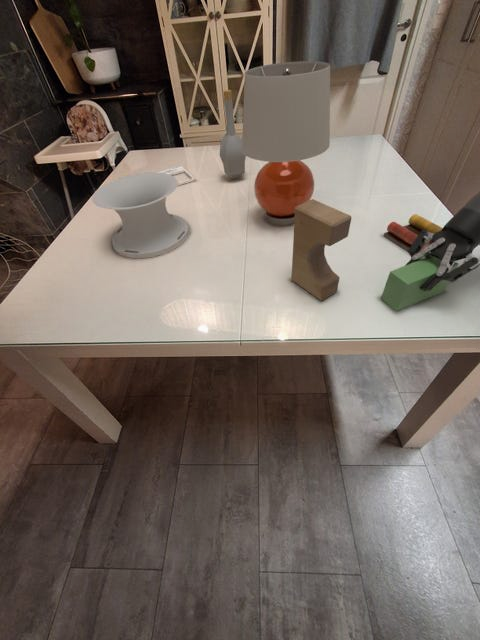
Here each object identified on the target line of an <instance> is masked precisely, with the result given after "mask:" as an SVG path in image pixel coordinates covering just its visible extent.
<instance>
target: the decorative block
mask: <svg viewBox="0 0 480 640" xmlns="http://www.w3.org/2000/svg"><path fill="white" fill-rule="evenodd" d="M351 223H352V215H350V214H348V213H346V212H343V211H341V210H339V209H336V208H334V207H332V206H330V205H327V204H326V203H322V202H321V201H318V200H316V199H314V198H313V199H312V198H311V199H310V201H307V202H305V203H303V204H301V205H299V206H296V207H295V219H294V224H293V242H292V260H291V262H292V263H291V278H290V279H291V281H293V283H296V284H297V285H298V286H300V287H301V288H302V289H304V290H305V291H306V292H308V293H310V295H313V296H314V297H316V298H317V299H319V301H320V302H321V301H324V300H326V299H328V298H329V297H331V296H332V295H334V294H335V293H337V292H338V288H339V284H340V283H339V282H340V276H339V275H338V274H337V273H336V272H335V271H333V269H332V268H331V267H330V265H329V263H328V261H327V258H326V255H325V247H326V246H328V247H331V246H333V245H336V244H338V243H339V242H341V241H343V240H344V239H346V238H348V236H349V232H350V228H351Z"/></svg>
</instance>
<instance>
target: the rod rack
mask: <svg viewBox="0 0 480 640" xmlns="http://www.w3.org/2000/svg"><path fill="white" fill-rule="evenodd" d="M423 229H426V230H427V232H430V233H434V234H435V233H436V232H438V231H440V230H442V229H443V227H441V226H439V225H438V224H436V223H434V222H432V221H431V220H428V219H426V218H424V217H422V216H420V215H418V214H417V213H415V214H412V215H411V216H410V217H409V218H408V224H406V225H402V224H399V223H398V222H396V221H391V222H389V224H387V227H386V232H384V233H383V237H384V238H386V239H387V240H389V241H390V242H392V243H394V244H395V245H396V246H398V247H400V248H401V249H403V250H404V251H406V252H408V250H409V249H410V247H411V246H412V244H413V243H414V241H415V240H416V238H417V237H418V235H419V233H420V232H421V231H422V230H423ZM431 242H432V239H431V240H429V242H426V243H425V244H424V246H423V247H422V249H423V248H425V247H427V246H429V245H430V244H431ZM422 249H421V250H420V251H422Z"/></svg>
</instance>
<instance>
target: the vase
mask: <svg viewBox="0 0 480 640" xmlns="http://www.w3.org/2000/svg"><path fill="white" fill-rule="evenodd" d="M157 172H158V171H157ZM157 172H156V171H155V172H153V171H151V172H139V173H134V174H129V175H126V176H125V175H124V176H121V177H119V178H116V179H113V180H111V181H109V182H107V183H105V184H103V185H102V186H101V187H99V188H98V189H97V190H96V191H95V192H94V193H93V195H92V199H91V200H92V202H93V204H94V205H95V206H97V207H99V208H102V209H106V210H113V211H115V212H116V213H117V214H118V216H119V217H120V219H121V224H122V225H121V226H120V227H118V228H117V230H116V231H114V233H113V235H112V237H111V245H112V246H113V249H114V251H115V252H117V254H119V255H120V256H122V257H125V258H129V259H148V258H154V257H159V256H162V255H164V254H168V253H169V252H172V251H173V250H175V249H177V248H178V247H180V246H181V245H182V244H183V243H185V241H186V240H187V238H188V237H189V234H190V229H189V224H188V222H187V221H186V219H185V218H183V217H181V216H180V215H177V214H172V213H169V211H168V210H167V205H166V199H167V197H168V196H170V195H171V194H172V193H174V191H176V190H177V188H178V186H179V185H178V182H179V180H178V179H177V178H176V177H175V176H174V175H169V174H165V173H157Z"/></svg>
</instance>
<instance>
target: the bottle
mask: <svg viewBox="0 0 480 640" xmlns="http://www.w3.org/2000/svg"><path fill="white" fill-rule="evenodd" d="M222 92H223V104H224V110H225V111H224V112H225V121H226V122H225V123H226V133H225V134H224V136H223V137H222V139H221V141H220V146H219V158H220V160H221V163H222V166H223V172H224V173H225V174H226V175H228V176H229V177H231V178H232V179H233V180H237V179H239V178H240V177H241V176H243V174H244V173H245V172H246V158H247V156H246V155H244V154H243V152H242V139H241V137H240V136H239V135H238V134H237V132H236V128H235V119H234V109H233V108H234V106H233V97H232V89H226V90H225V89H224V90H223V91H222Z"/></svg>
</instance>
